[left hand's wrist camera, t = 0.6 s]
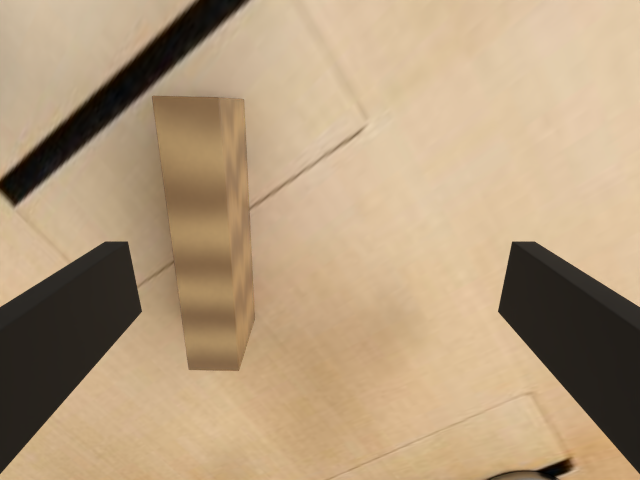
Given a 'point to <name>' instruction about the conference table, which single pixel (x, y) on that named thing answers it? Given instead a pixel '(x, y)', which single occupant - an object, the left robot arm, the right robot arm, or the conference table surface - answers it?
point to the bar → (208, 224)
